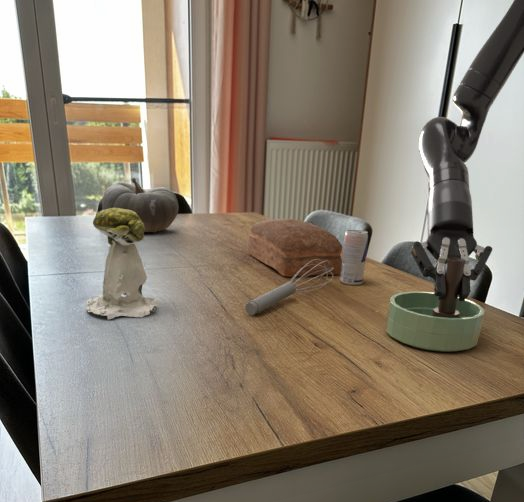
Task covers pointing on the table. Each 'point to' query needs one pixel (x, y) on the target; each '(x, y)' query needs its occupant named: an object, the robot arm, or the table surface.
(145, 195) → the gourd
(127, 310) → the mushroom
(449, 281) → the pestle
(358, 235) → the energy drink
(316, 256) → the bread
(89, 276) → the table surface
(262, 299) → the kitchen whisk
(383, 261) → the table surface
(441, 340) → the bowl
